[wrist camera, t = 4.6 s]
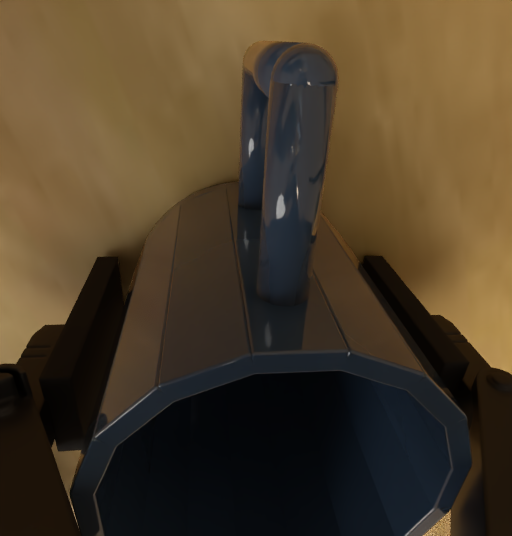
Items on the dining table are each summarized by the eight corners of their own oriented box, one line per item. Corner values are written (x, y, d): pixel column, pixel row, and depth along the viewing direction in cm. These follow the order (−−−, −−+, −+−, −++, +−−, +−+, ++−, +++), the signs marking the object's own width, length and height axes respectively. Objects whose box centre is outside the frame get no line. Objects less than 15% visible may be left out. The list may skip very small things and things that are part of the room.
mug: (328, 355, 20) (416, 581, 12) (146, 362, 19) (102, 616, 11) (384, 48, 13) (670, 65, 5) (113, 31, 12) (-64, 19, 4)
